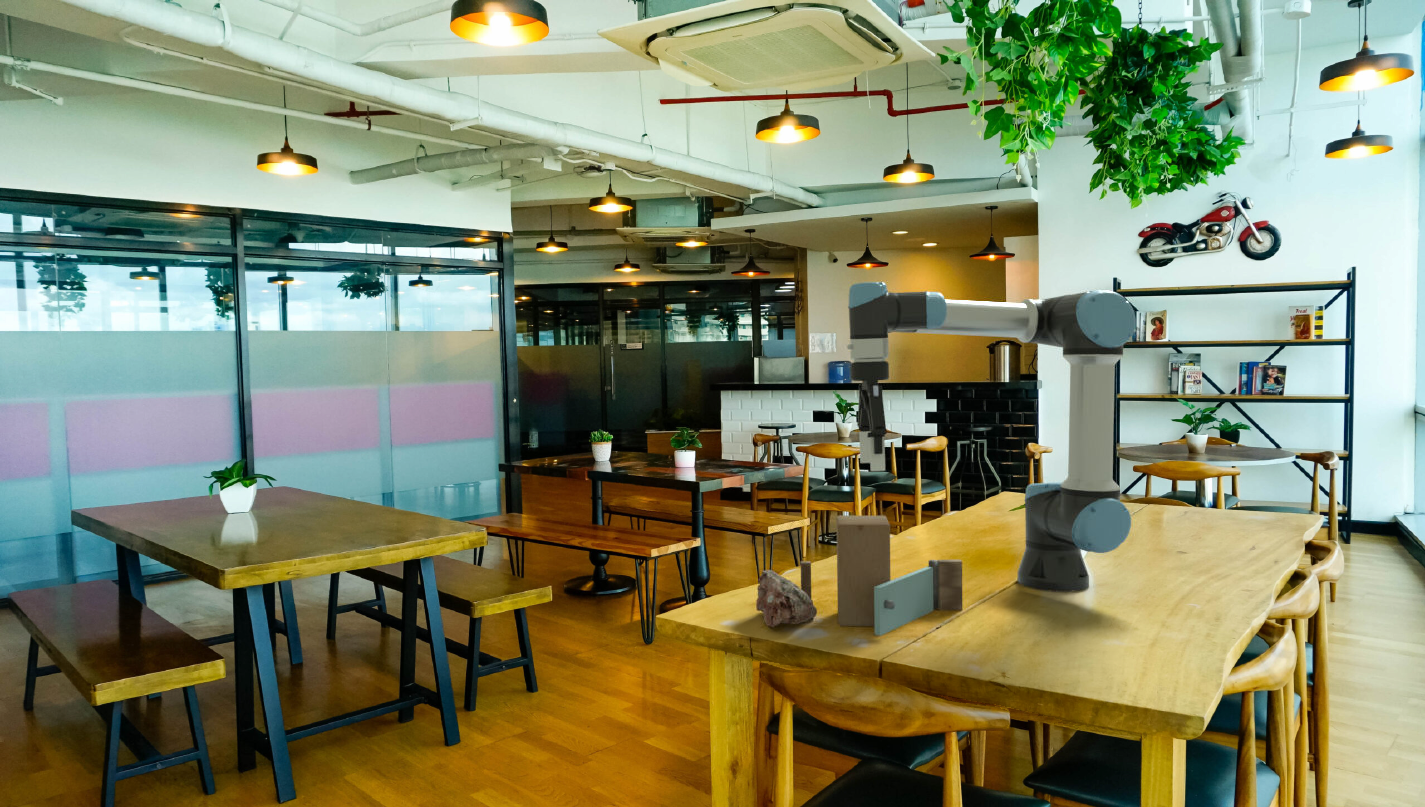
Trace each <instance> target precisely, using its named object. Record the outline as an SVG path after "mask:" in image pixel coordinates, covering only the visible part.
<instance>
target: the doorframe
mask: <svg viewBox="0 0 1425 807" xmlns="http://www.w3.org/2000/svg"><path fill="white" fill-rule="evenodd" d="M811 562H812V561H810V560H806V561H805V560H801V561H800V589H801V590H802V591H804V592H805V593H807V595H808V597H809V598H810V599H811V600H812V563H811ZM928 566H929V567H933V611H938V610H939V611H963V560H961V559H929V560H928Z"/></svg>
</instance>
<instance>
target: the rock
mask: <svg viewBox="0 0 1425 807" xmlns="http://www.w3.org/2000/svg"><path fill="white" fill-rule="evenodd" d="M758 582H759V585H758V586H757V599H756V602H755V603H756V606H755V607H756V611H758V612H761V613H762V614H763V620H764V622H765V624H766V626H767V625H768V626H767V627H771V628H774V627H776V626H777V625H780V624H786V625H787V624H789V625H790V624H794V625H798V624H800V623H803V622H807V621H808V620H811V619H814V618H816V616H817V613H818V611H817V607H816V606H815V605H814V600H812V598H811V599H810V598H809V597H808V595H807V593H805V592H804V591H802V590H801V587H800V586H798V585H797V584H796V583H794V582H793V580H791V579H787V578H786V577H784V576H782V575H779V574H778V573H776V572H775V571H773V570H771V569H767V570H762V572H761V575H760V577H759V578H758Z"/></svg>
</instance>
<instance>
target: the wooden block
mask: <svg viewBox="0 0 1425 807" xmlns="http://www.w3.org/2000/svg"><path fill="white" fill-rule="evenodd" d="M836 567H837V568H836V575H837V577H836V578H837V579H836V580H837V581H836V582H837V586H836V587H837V591H836V592H837V623H838V625H839V626H840V627H863V628H864V627H867V628H868V627H872V628H875V614H874V587H875V586H878V585H880V584H883V583H886V582H888V581H891V525H890V523H889V521H888V517H887V516H886V515H837V516H836Z"/></svg>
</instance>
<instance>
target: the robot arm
mask: <svg viewBox="0 0 1425 807" xmlns="http://www.w3.org/2000/svg"><path fill="white" fill-rule="evenodd" d="M847 308H848V318H849V339H850V341H849V342H850V344H847V346H846V349H847V350H850V352H849V353H850V359H851V360H853V362H851V363H850V380H851V381H853V382H854V381H855V382H862V383H858V384H859V385H858V411H857V424H856V425H857V427H858V430H859V431H858V433H859V435H858V436H859V459H860V460H859V462H860V464H870V472H884V471H885V472H886V453H885V452H886V449H885V448H886V446H885V436H886V435H887V430H888V429H887V428H886V427H887V425H886V417H885V416H886V414H885V407H884V406H885V405H884V398H883V386H882V385H880V384H879V381H887V380H889V378H890V368H889V367H890V365H889V364H890V363H889V362H888V361H887V360H886V359H888V358H889V356H890V355H889V350H890V348H889V334H890V333H903V334H904V333H906V334H908V333H909V334H911V333H915V334H934V335H937V334H938V335H953V336H954V335H956V336H957V335H958V336H975V337H976V336H979V337H995V338H996V337H999V338H1000V337H1001V338H1017V339H1018V341H1019V342H1021V343H1024V344H1025V343H1027V344H1038V345H1047V346H1050V347H1051V346H1052V347H1057V348H1062V357H1063V359H1064V360H1066V361H1067V362H1068V363H1069V366H1070V368H1069V370H1070V372H1069V375H1070V376H1069V414H1068V416H1069V418H1068V419H1069V420H1068V425H1069V426H1068V462H1067V463H1068V465H1067V466H1068V467H1067V468H1068V469H1067V471H1068V472H1067V474H1068V475H1067V478H1065V480H1064V481H1061V482H1042V483H1041V482H1040V483H1030V484H1028V485H1027V486H1026V489H1025V495H1024V496H1025V497H1024V503H1025V504H1024V508H1025V512H1024V513H1025V550H1024V552H1023V555H1022V558H1021V561H1020V564H1019V567H1018V570H1017V583H1018V584H1020V585H1021V586H1023V587H1027V588H1030V589H1035V590H1041V591H1048V592H1076V591H1083V590H1086V589H1088V588H1089V586H1090V576H1089V571H1088V570H1087V567H1086V563H1085V561H1084V558H1083V555H1082V551H1084V552H1087V553H1088V552H1092V553H1096V554H1105V553H1110V552H1112V551H1114V550H1116V549H1117V548H1119V547H1120V546H1121V544H1122V543H1123V544H1124V542H1125V541H1126V540H1127V538H1128V536H1129V534H1130V532H1131V528H1132V516H1131V513H1130V510H1129V509H1128V508H1127V507H1126V505H1125V504H1124V503H1123V502H1122V501H1121V487H1120V486H1119V485H1118V483H1116V482H1115V480H1114V479H1113V469H1114V468H1113V467H1114V466H1113V465H1114V418H1115V414H1114V413H1115V377H1116V376H1115V373H1116V372H1115V371H1116V369H1115V366H1116V364H1117V363H1118V361H1119V360H1120V359H1122V358H1123V357H1124V345H1125V344H1126V343H1127V342H1128V341H1129V340H1130V338H1131V337H1133V334H1134V333H1135V329H1136V321H1137V320H1136V315H1135V310H1134V308H1133V307H1132V305H1131V303H1130V302H1129V301H1128V300H1127V299H1126V298H1125V297H1124V296H1123V295H1121V294H1120V293H1117V292H1115V291H1112V290H1098V289H1097V290H1089V291H1086V292H1085V291H1084V292H1080V293H1074V294H1065V295H1060V296H1056V297H1055V296H1054V297H1049V298H1042V299H1041V298H1040V299H1039V298H1038V299H1032V298H1031V299H1030V298H1027V299H1026V298H1024V299H1023V300H1022V301H1021V302H1018V303H1017V302H998V301H996V302H995V301H980V300H979V301H977V300H961V299H960V300H959V299H958V300H957V299H946V298H945V296H944V295H943V294H942V293H941V292H940V291H939V292H938V291H928V290H925V291H909V292H908V291H906V292H891V291H890V292H889V291H888V287H887V284H886V283H885V282H882V281H879V282H878V281H871V282H870V281H868V282H857V283H854V284H852V285H851V286H850V288H849V292H848V306H847Z"/></svg>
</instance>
